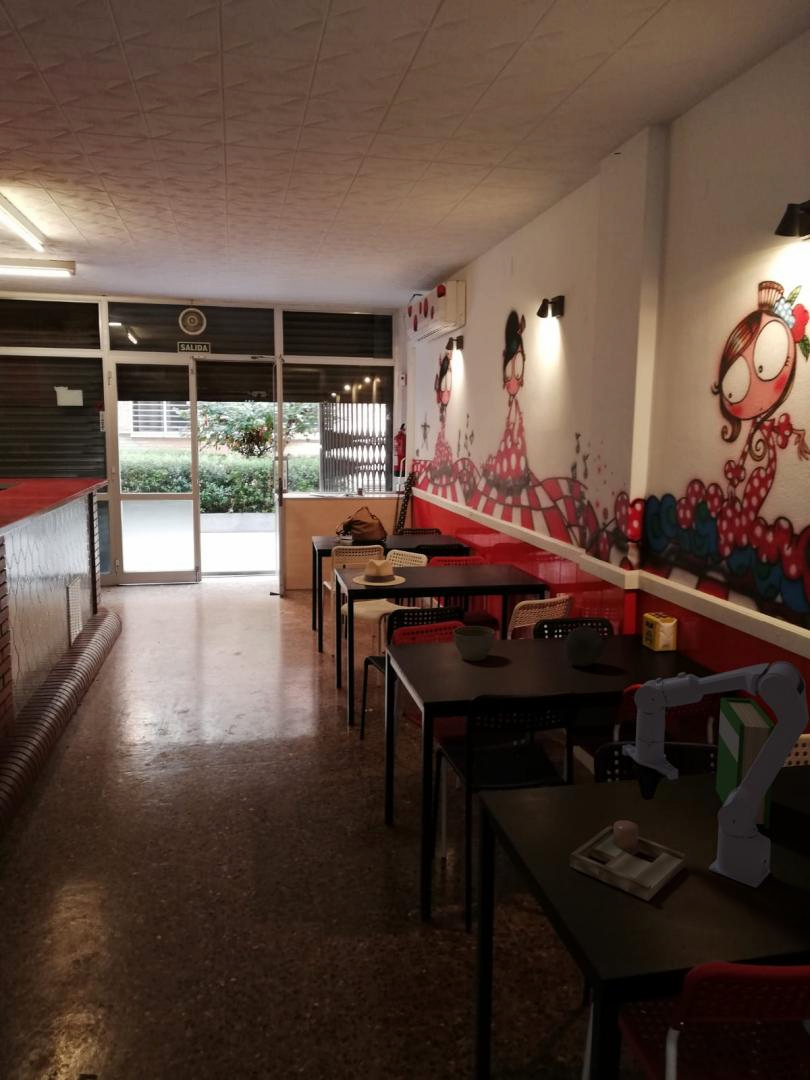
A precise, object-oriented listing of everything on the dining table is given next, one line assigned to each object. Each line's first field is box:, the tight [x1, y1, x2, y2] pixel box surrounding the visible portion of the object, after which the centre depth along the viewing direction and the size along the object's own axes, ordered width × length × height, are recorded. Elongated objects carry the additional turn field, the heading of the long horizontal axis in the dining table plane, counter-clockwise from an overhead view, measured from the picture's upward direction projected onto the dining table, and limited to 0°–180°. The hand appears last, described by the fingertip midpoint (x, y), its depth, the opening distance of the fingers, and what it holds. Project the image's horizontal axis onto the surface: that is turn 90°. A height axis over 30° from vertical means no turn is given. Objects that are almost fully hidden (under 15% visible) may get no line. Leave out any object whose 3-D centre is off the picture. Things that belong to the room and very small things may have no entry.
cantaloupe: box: [563, 626, 605, 668], centre depth 293 cm, size 14×14×15 cm
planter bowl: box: [452, 625, 496, 662], centre depth 304 cm, size 16×16×11 cm
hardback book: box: [715, 697, 776, 830], centre depth 181 cm, size 18×7×24 cm, turn 171°
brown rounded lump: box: [613, 820, 640, 851], centre depth 163 cm, size 5×5×4 cm
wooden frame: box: [569, 825, 686, 902], centre depth 158 cm, size 17×16×3 cm
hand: (647, 798), depth 166 cm, fingers closed
